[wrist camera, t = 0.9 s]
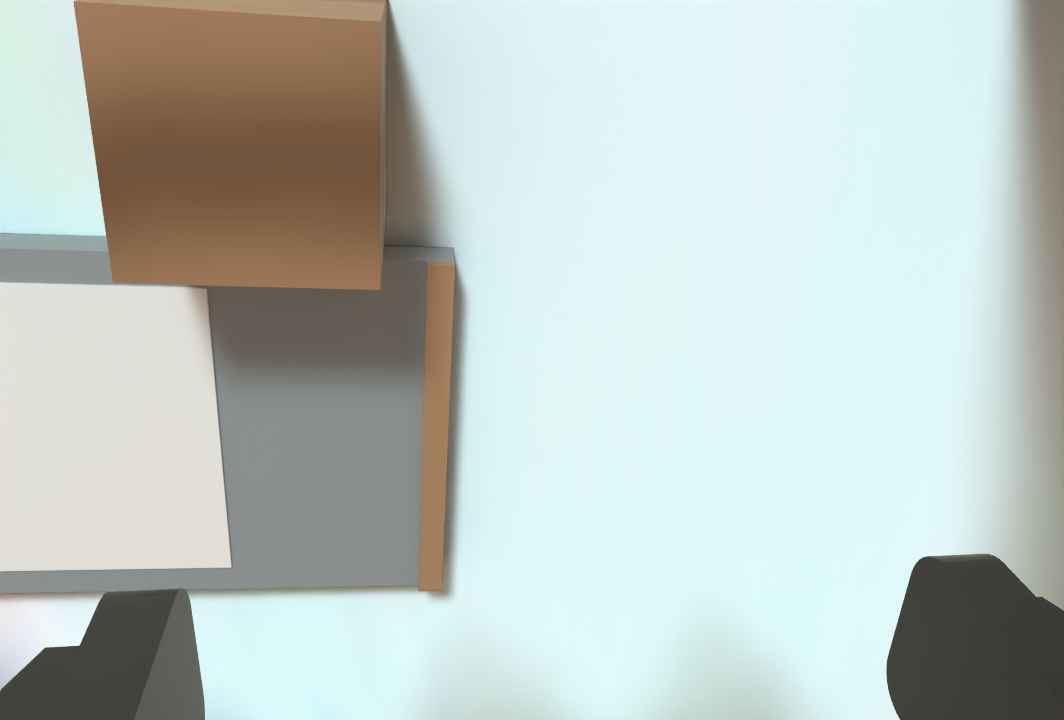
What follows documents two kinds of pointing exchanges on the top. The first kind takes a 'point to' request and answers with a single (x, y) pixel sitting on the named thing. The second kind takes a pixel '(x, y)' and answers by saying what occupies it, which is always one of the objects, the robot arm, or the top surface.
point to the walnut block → (239, 139)
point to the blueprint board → (220, 426)
